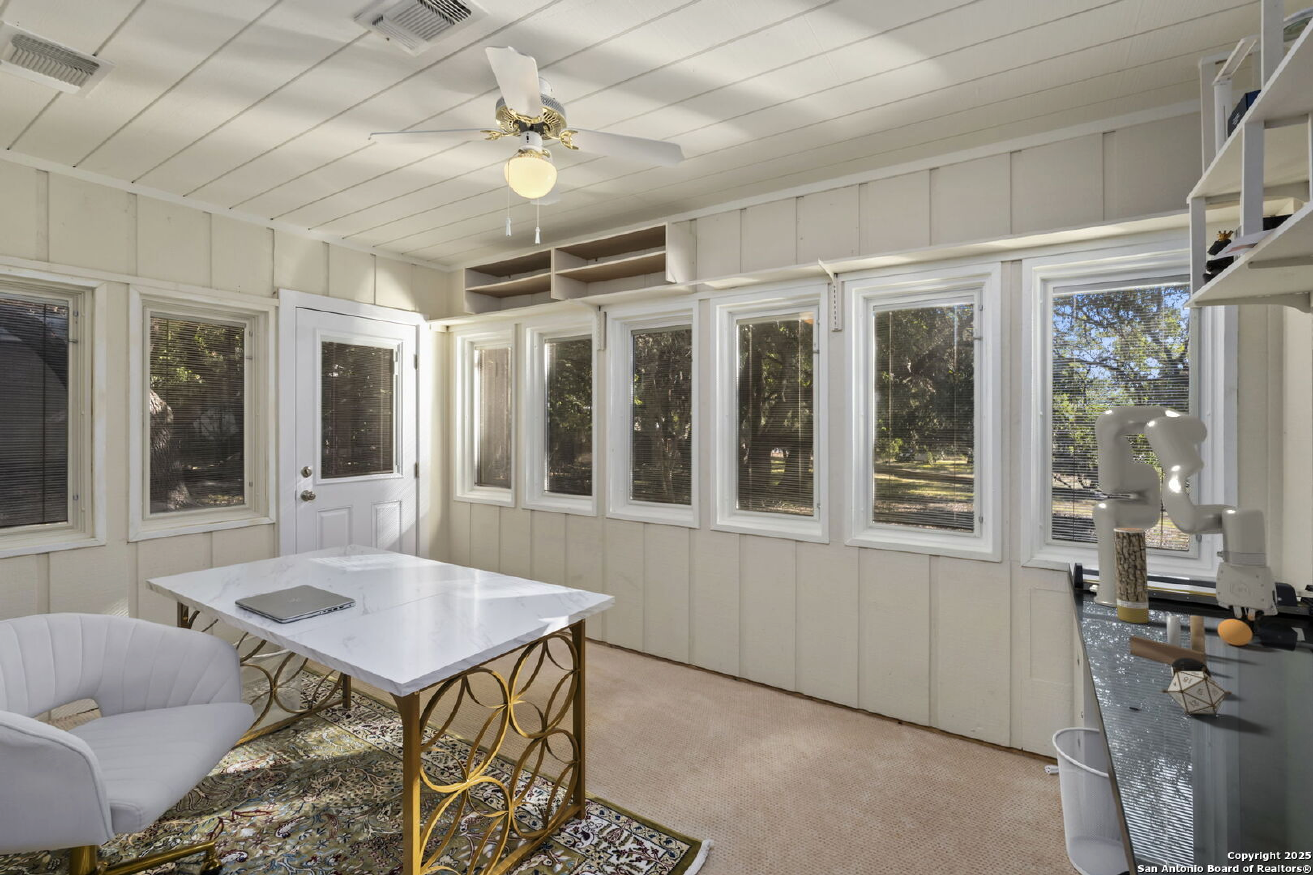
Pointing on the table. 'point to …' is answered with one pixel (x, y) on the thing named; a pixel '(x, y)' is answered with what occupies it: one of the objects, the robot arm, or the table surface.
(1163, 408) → the robot arm
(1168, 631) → the grey pin
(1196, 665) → the billiard ball
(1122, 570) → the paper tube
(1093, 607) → the table surface
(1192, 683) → the game die
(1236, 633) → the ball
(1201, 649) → the maple pin
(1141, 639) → the brown wooden plank
